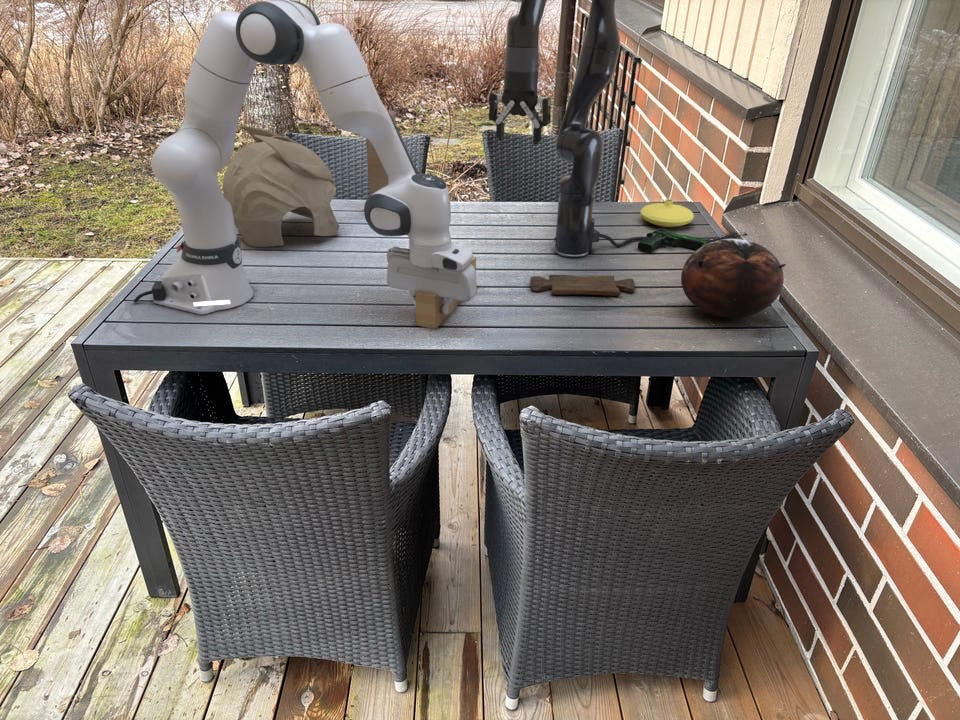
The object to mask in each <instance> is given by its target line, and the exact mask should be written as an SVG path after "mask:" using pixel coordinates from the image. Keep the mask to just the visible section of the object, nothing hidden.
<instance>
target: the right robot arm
mask: <svg viewBox="0 0 960 720" xmlns="http://www.w3.org/2000/svg"><path fill="white" fill-rule="evenodd" d="M509 1H510V2H513V3H520V7H519V11H518V14H515V15H512V16H510V17H509V18H508V20H507V24H506V47H505V52H504V53H505V54H504V74H503V93H499V92H498V91H495V92H493V93H491V94H490V96H489V104H488V105H489V106H488V107H489V108H488V120H489V121H490V122H491V121H492V122H494V123H495V127H496V128H495V137H496V138H497V140H498V141H500V142H502V141H503V140H504V141H505V120H506V119H507V118H508V116H510V115H511V116H520V117H526V116H527V118H528V119H529V121H531V123H532V124H533V126H534V127H533V135H532V136H533V137H532V145H534V146H537V145H538V144H539V143H540V142H541V141H542V134H543V127H547V126H548V125H550V124H551V121H552V119H551V116H552V113H551V112H552V99H551V97H550V96H546V97H539V95H538V85H539V84H538V83H539V68H540V53H539V42H540V25H541V21H542V19H543V15H544V13H545V12H544V11H545V9H546V5H547V1H548V0H509ZM619 31H620V30H619V25H618V22H617V17H616V0H591V4H590V9H589V14H588V18H587V24H586V28H585V32H584V36H583V40H582V43H581V48H580V53H579V57H578V62H577V66H576V71H575V76H574V79H573V83H572V87H571V91H570V95H569V98H568V103H567V105H566V109H565V112H564V115H563V118H562V121H561V123H560V126H559V130H558V133H557V136H556V143H555V150H556V154H557V156H558V157H559V158H560V159H561V160H563V161H565V162H567V163H570V164H572V168H571V174H568V175H565V176H562V177H561V178H560V180H559V185H558V186H559V187H558V196H557V197H558V200H557V213H556V226H555V236H554V239H553V243H554V249H553V251H554V253H555V254H557V255H559V256H560V257H564V258H565V257H566V258H571V259H572V258H573V259H574V258H582V257H586V256H587V255H589V254H592V251H593V243H599V242H600V238H602V239H604V240H607V241H609V242H610V243H611V245H612V246H614V247H616V248H621V247H625V246H626V245H628V244H629V243H630V242H633V241H640V240H642V239H645V238H648V237H646V236H634V237H632V236H631V237H629V238H627V239H625V240H624V241H623V242H621V243H618V242H616V241H615V240H614V239H613V237H611V236H610V235H606V234H603V233H601V232H600V231H599V230H597V229H595V222H596V221H595V218H593V211H594V210H593V209H594V201H595V199H594V198H595V188H596V185H597V183H598V180H599V177H600V171H601V164H602V159H603V152H604V151H603V150H604V142H603V138H602V136H601V134H600V132H599V131H597V130H594V129H593V128H588V127H587V122H588V120H589V115H590V112H591V109H592V107H593V105H594V103H595V101H596V100H597V98H598V97H600V95H601V94H602V93H603V92H604V90H605V89H606V87H607V86H608V84H609V83H610V82H611V80H612V78H613V76H614V75H615V71H616V68H617V64H618V59H619V56H620V52H621V51H620V50H621V35H620V32H619ZM501 101H502V103H503V104H504V106H505V107H504V109H503V110H502V111H501V112H500V114H499V115H498V109H499V104H500V103H501ZM538 104H539V107H540V108H541V109H542V118H541V117H540V115H539V112H538V110H537V109H536V106H537V105H538ZM725 235H726V236H724V237H721V238H718V239H715V238H716V237H713V238H705V239H704V238H703V239H704V240H708V243H711V242H714V241H718V240H724V239H729V238H731V237H734V236H736V235H737V234H736V233H735V231H733V232H730V233H727V234H725ZM710 239H713V240H710Z"/></svg>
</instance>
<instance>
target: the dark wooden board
mask: <svg viewBox="0 0 960 720" xmlns="http://www.w3.org/2000/svg"><path fill="white" fill-rule="evenodd" d="M529 278H530V285H529V286H530V291H531V292H542V291H547V290H551V294H552V295H556V296H557V295H558V296H559V295H560V296H562V295H588V296H589V295H592V296H612V297H613V296H614V297H615V296H619V295H621V291H623V292H627V293H634V290H635V282H634V279H633V278H625V279H619V280H618V279H617V280H615V276H614V275H573V274H572V275H570V274H549V275H548V279H547V278H546V277H543V276H540V275H534V276H530V277H529Z"/></svg>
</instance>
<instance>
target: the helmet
mask: <svg viewBox="0 0 960 720" xmlns="http://www.w3.org/2000/svg"><path fill="white" fill-rule="evenodd" d="M238 128H239V129H242V130H244V131H245V132H246V133H247V134H248V135H249V136H250V137H251V138H252V140H254V143H250V144H246V145H245V146H243V147H242V148H241V149H239V150H238V151H237V152H236V153H234V154H233V155H232V157H231V159H230V161H229V163H228V165H227V167H226V169H225V171H224V175H223V179H222V193H223V195H224V197H225V199H226V200H227V201H229V203H230V204H231V206H232V211H233V217H234V223H235V229H236V230H237V231H238V232H239V234H240V236H241V238H242V239H243V241H244V242H245V244H247V245H248V246H251V247H255V248H257V247H258V248H268V247H278V246H284V245H285V244H284V240H283V237H282V222H283V220H284V217H285V216H287V214H288V213H293V214H295V215H298V216H302V217H305V218H309V219H312V221H313V222H312V223H313V235H314V236H322V237H327V236H338V235H339V231H340V224H339V222H338V221H337V219H336V216H335V214H334V212H333V208H332V206H331V202H332V201H333V199H334V197H335V196H336V193H337V187H336V185H335V182H334V178H333V174H332V171H331V169H330V168H329V167H328V166H327V164H326V163H325V162H324V161H323V159H322V158H321V157H320V156H319V155H318V154H317V153H316V152H315V151H313V150H312V149H311V148H308V147H306V146H305V145H303V144H300V143H299V142H298V141H296V140H294V139H292V138H290V137H287V136H283V135H279V134H277V133H275V132H272V131H270V130H268V129H263V128H260V127H255V126H250V125H249V126H248V125H239V126H238Z"/></svg>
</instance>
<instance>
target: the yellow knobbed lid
mask: <svg viewBox="0 0 960 720" xmlns="http://www.w3.org/2000/svg"><path fill="white" fill-rule="evenodd" d="M640 216H641V218H642V219H643V220H644V221H646V222H648V223H649V224H652V225H654V226H658V227H663V228H678V227H683V226H685V225H688V224H690V223H692V221H693V220H694V218H695V215H694V213H693V211H692V210H691V209H689V208H688V207H686V206H683V205H680V204H674V199H671V198H666V199H665V200H664V202H657V203H649V204H647V205H644V206H643V207H642V208H641V210H640Z"/></svg>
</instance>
